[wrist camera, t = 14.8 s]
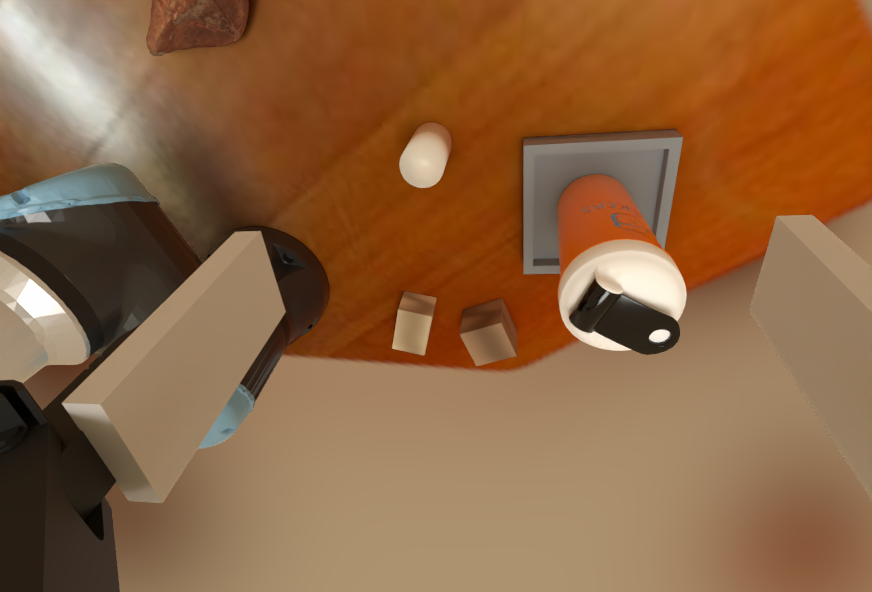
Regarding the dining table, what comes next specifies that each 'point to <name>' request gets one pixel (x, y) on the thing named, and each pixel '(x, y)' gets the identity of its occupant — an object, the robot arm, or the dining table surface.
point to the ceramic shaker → (426, 155)
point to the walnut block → (489, 332)
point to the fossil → (195, 24)
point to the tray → (586, 155)
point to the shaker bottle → (615, 271)
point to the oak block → (413, 323)
